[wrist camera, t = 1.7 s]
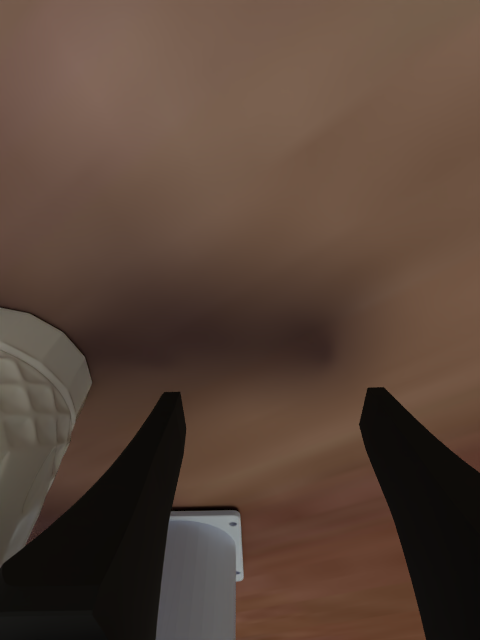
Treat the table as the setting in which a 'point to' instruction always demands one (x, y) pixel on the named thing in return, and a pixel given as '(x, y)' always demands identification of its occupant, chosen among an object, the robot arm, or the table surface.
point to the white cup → (34, 418)
